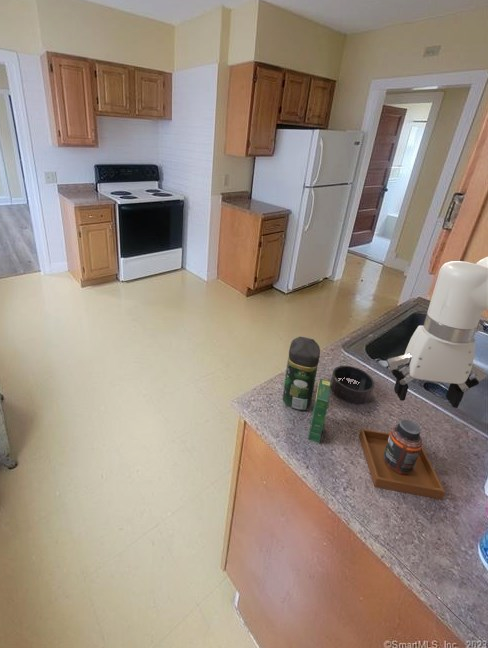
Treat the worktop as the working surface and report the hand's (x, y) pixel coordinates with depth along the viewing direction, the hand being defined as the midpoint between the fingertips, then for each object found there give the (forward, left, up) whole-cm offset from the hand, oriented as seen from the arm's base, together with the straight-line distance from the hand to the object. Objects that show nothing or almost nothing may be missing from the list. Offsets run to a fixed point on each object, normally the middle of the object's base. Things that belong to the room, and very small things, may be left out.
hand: (425, 399), depth 66 cm
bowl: (+6, -23, -20) cm, 31 cm away
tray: (+1, 0, -20) cm, 19 cm away
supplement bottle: (+1, 0, -19) cm, 19 cm away
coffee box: (+18, -6, -20) cm, 27 cm away
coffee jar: (+22, -16, -20) cm, 34 cm away
